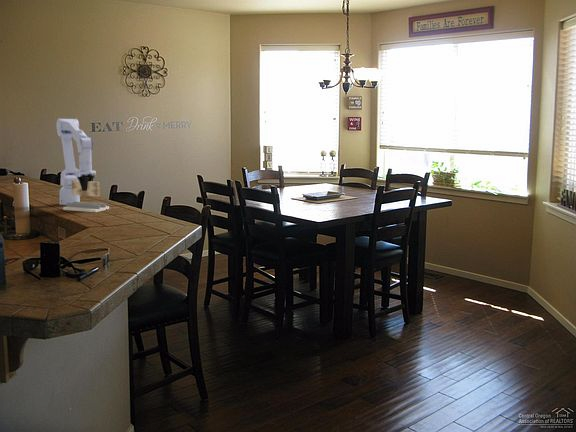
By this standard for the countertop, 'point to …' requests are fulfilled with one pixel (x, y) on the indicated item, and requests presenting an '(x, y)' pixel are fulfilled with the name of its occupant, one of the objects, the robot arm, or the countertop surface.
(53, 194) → the countertop surface
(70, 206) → the track plinth
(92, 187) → the door panel
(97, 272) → the countertop surface
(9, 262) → the countertop surface
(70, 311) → the countertop surface
